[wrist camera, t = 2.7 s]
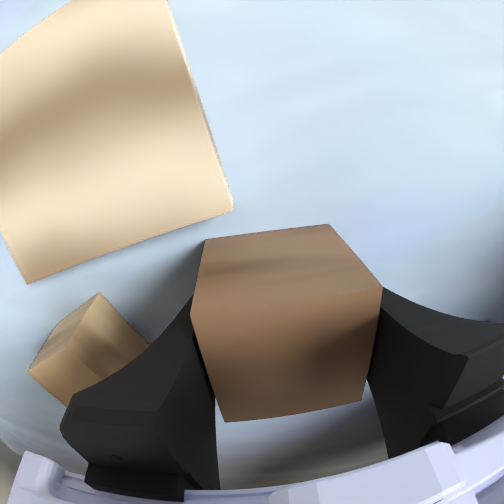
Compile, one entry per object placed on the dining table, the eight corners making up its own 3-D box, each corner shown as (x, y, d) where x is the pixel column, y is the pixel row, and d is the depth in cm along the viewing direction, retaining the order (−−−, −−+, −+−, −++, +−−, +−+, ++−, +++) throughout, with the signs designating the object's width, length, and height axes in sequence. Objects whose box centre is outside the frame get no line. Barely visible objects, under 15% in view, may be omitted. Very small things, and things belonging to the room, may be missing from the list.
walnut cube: (327, 321, 14) (360, 400, 9) (225, 335, 14) (224, 422, 9) (328, 223, 12) (382, 286, 7) (205, 239, 12) (190, 314, 7)
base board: (233, 199, 11) (233, 210, 10) (42, 269, 12) (27, 284, 10) (160, -23, 7) (151, -39, 6) (-18, 91, 8) (-37, 92, 6)
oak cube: (153, 347, 14) (137, 408, 10) (107, 369, 15) (87, 422, 11) (100, 290, 12) (65, 346, 9) (58, 322, 13) (26, 371, 9)
